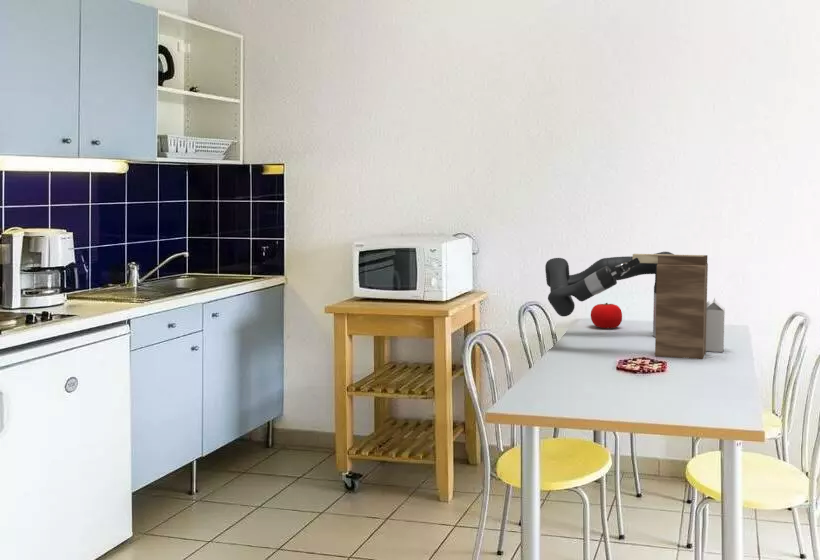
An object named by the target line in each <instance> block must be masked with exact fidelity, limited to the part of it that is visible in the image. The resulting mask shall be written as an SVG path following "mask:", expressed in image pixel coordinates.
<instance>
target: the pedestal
mask: <svg viewBox="0 0 820 560" xmlns="http://www.w3.org/2000/svg"><path fill="white" fill-rule="evenodd" d="M703 255H704V256H658V265H657V283H656V335H655V337H654V338H655V343H654V344H655V347H654V357H662V358H678V359H693V360H694V359H697V360H703V359H704V357H705V355H706V354H707V351H706V318H707V302H708V274H709V273H708V271H709V270H708V269H709V264H708V255H706V254H703Z"/></svg>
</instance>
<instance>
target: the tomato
mask: <svg viewBox="0 0 820 560" xmlns="http://www.w3.org/2000/svg"><path fill="white" fill-rule="evenodd" d="M590 319H591V322H592V324H593V325H594V326H595V327H596V328H601V329H615V328H617V327H619V326H620V325H621V324H622V321H623V313H622V309H621V308H620V306H618V305H617V304H615V303H608V302H606V303H599V304H596V305H594V306H593V307H592V308H591V311H590Z"/></svg>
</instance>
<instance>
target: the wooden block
mask: <svg viewBox="0 0 820 560" xmlns="http://www.w3.org/2000/svg"><path fill="white" fill-rule="evenodd" d="M704 255H705V254H674V255H671V254H656V253H633V254H632V256H633V259H635V258H638V259H639V261H640V263H658V256H704Z"/></svg>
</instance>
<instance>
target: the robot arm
mask: <svg viewBox="0 0 820 560" xmlns="http://www.w3.org/2000/svg"><path fill="white" fill-rule="evenodd" d="M655 254H671V255H675V254H674V253H673V252H670V251H661V252H657V253H655ZM657 265H658V263H640V261H639V259H638V258H635V259H633V255H632V256H630V255H628V256H612V257H603V258H600V259H599V260H596V261H595V262H594V263H593V264H591V265H589V267H587V268H585V269H584V270H582V271H581V272H577V273H574V274H570V266H569V263H568V261H567V260H566V259H565V258H563V257H554V258H550V259H548V260H547V261H546V263H545V266H544V267H545V278H546V285H547V286H548V287H550V288H549V289H550V290H549V291H550V292H549V294H548V295H547V300H548V302H549V304H550V305H551V306H552V309H554V311H555V313H556V314H557V315H559V316H560V317H568V316H570V315H572V313H573V312H574V310H575V302H574V299H573V297H574V298H576V300H578V301H579V302H584V301H586V300H588V299H591V298H592V297H593V296H596V295H598V294H601V293H604V292H605V291H607V290H608V289H611V288H612V287H614V286H615V285H617V284H618V282H617V281H621V280H626V279H630V278H634V277H636V276H641V275H643V276H644V275H655V276H654V277H655V278H654V284H653V285H654V286H653V317H652V318H653V320H652V321H653V322H652V324H653V325H652V337H654V338H655V335H656V283H657Z"/></svg>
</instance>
